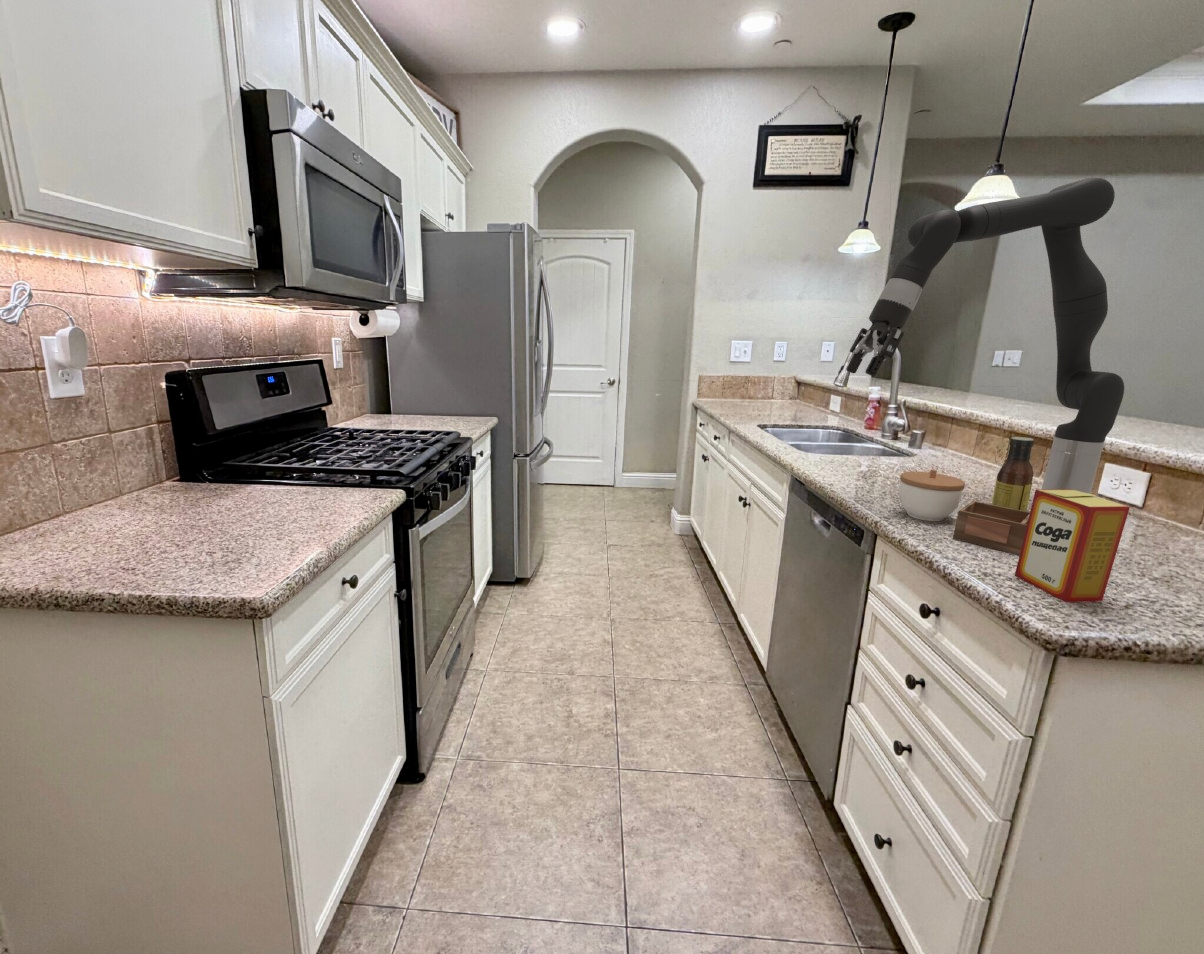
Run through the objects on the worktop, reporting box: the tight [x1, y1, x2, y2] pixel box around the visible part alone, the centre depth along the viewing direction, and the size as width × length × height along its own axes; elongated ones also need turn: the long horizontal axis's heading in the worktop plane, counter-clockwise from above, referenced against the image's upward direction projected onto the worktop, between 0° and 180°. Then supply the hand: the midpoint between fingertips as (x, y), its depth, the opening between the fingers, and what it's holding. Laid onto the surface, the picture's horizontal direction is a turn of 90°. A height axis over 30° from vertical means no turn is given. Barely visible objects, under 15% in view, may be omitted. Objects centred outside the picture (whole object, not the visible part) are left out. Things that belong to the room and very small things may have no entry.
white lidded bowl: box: [898, 468, 966, 522], centre depth 123 cm, size 13×13×11 cm
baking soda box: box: [1014, 488, 1131, 603], centre depth 88 cm, size 10×6×16 cm
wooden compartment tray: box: [952, 500, 1030, 556], centre depth 106 cm, size 11×21×6 cm, turn 43°
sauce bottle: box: [991, 436, 1035, 512], centre depth 116 cm, size 6×6×20 cm
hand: (859, 373), depth 123 cm, fingers open, 8 cm apart
